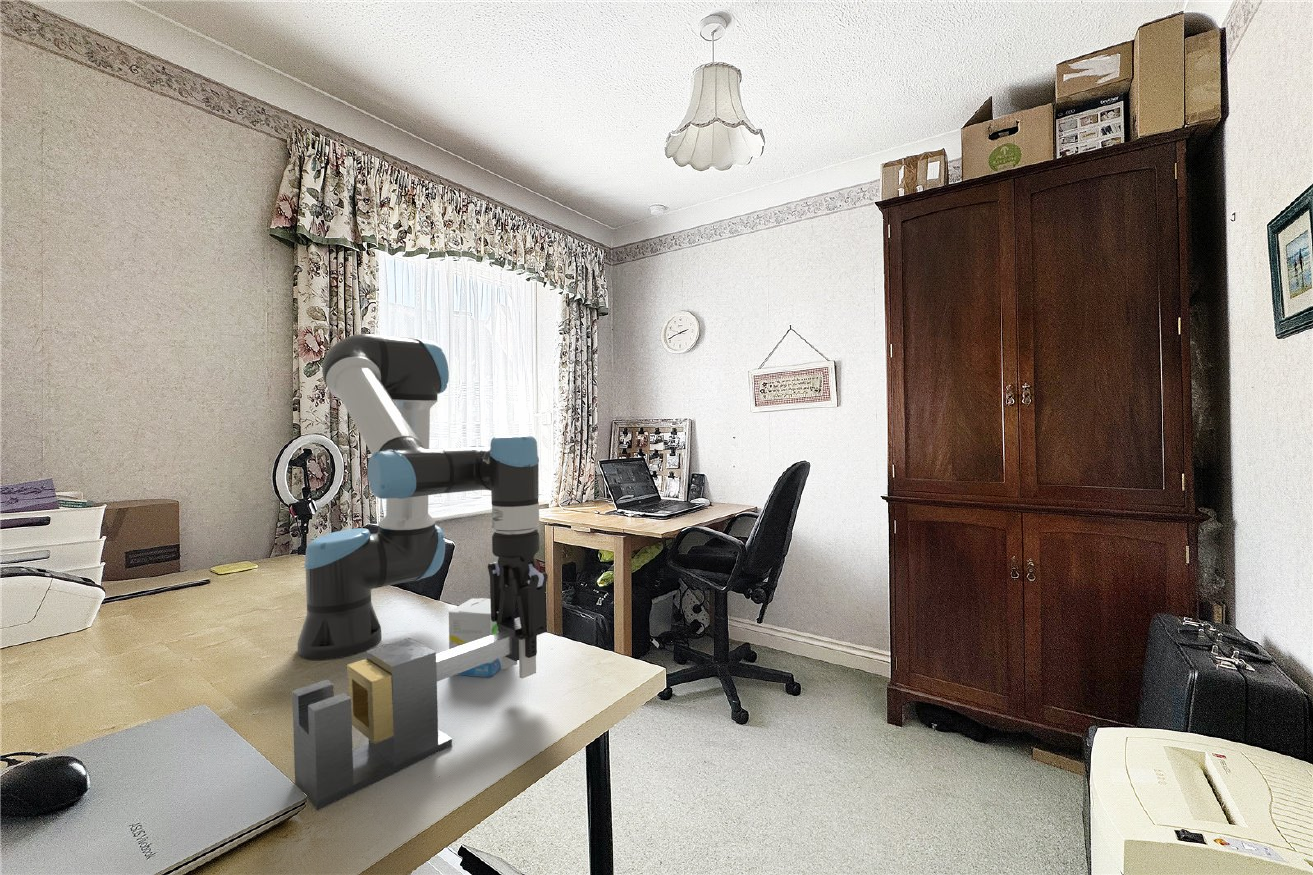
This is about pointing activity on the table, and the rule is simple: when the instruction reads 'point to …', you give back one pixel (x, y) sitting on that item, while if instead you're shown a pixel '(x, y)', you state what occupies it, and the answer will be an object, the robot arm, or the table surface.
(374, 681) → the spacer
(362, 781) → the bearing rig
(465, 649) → the shaft
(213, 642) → the table surface
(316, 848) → the table surface
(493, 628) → the ink box
